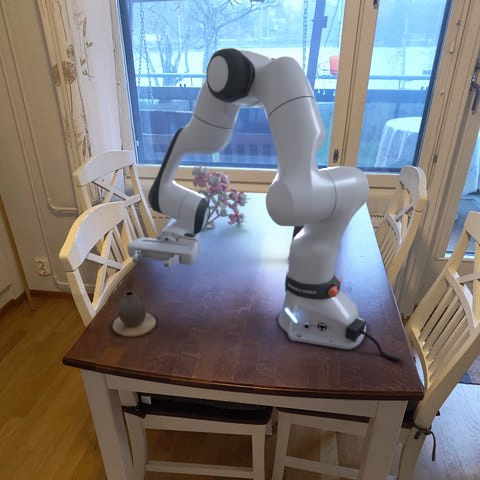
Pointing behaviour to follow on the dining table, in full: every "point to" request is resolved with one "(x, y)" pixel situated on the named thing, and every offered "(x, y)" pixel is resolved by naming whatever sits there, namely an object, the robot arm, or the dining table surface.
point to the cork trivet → (136, 330)
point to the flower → (219, 195)
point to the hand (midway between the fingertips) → (150, 262)
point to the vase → (131, 309)
